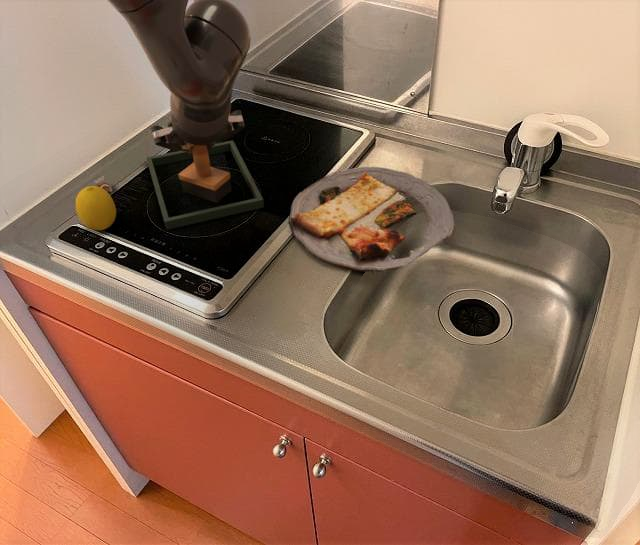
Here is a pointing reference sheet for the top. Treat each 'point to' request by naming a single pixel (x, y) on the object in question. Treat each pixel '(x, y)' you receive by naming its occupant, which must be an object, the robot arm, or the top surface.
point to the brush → (204, 177)
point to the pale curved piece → (104, 185)
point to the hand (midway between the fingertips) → (197, 145)
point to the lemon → (95, 208)
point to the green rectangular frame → (212, 212)
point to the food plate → (354, 203)
